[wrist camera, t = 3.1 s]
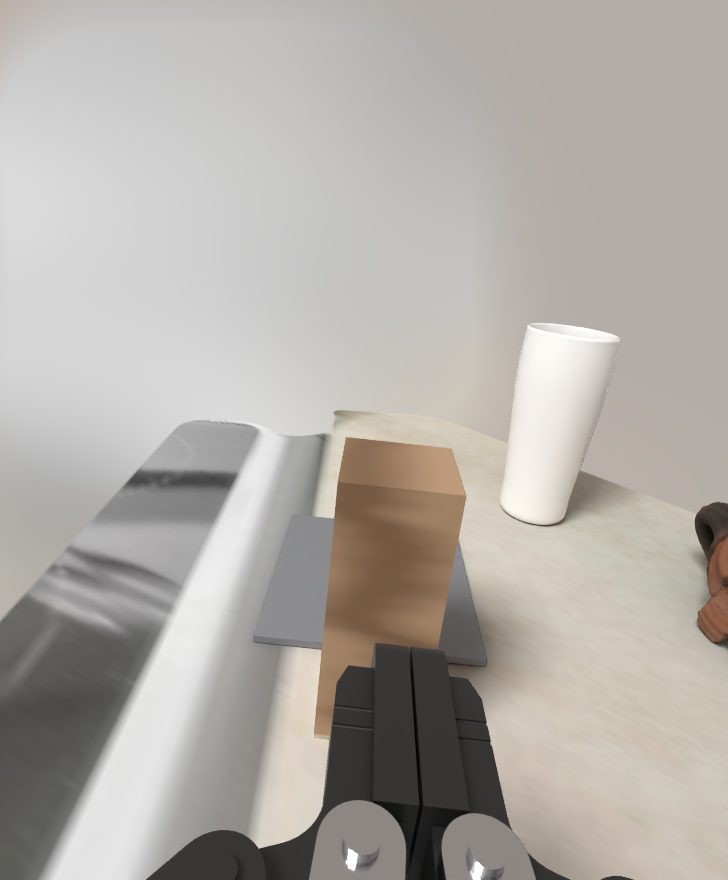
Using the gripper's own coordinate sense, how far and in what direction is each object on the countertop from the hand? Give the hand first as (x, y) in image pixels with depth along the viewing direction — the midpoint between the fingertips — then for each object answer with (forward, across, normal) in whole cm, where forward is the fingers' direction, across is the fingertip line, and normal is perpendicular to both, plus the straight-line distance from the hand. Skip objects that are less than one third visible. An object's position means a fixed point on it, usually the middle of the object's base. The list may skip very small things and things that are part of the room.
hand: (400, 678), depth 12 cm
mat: (+20, 0, +11) cm, 23 cm away
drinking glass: (+32, -13, +11) cm, 36 cm away
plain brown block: (+10, 0, +11) cm, 15 cm away
